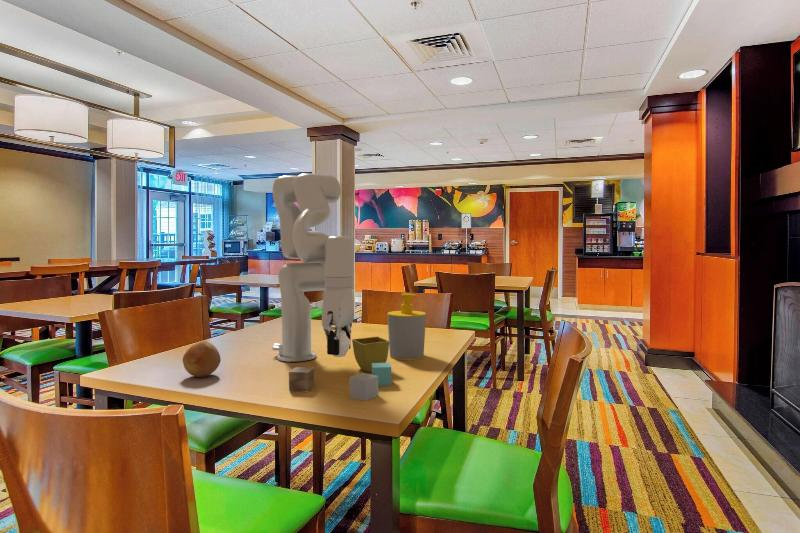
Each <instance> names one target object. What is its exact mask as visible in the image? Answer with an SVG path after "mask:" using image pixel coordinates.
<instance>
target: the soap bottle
mask: <svg viewBox="0 0 800 533" xmlns="http://www.w3.org/2000/svg"><path fill="white" fill-rule="evenodd" d="M400 296H402V297H403V298H402V299H403V302H402V303H401V304H400V310H393V311H388V312H387V313H386V314H387V315H386V316H387V328H388V329H387V330H388V341H389V350H388V352H389V357H390V358H391V359H393V360H398V361H414V360H420V359H423V358H424V355H425V338H426V322H427V321H426V320H427V313H426V312H425V311H420V310H413V304H412V303H411V297H414V298H415V297H416V298H417V297H418V295H417V294H415V293H414V294H413V293H408V292H407V293H401V294H400Z"/></svg>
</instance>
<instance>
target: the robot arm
mask: <svg viewBox="0 0 800 533" xmlns="http://www.w3.org/2000/svg"><path fill="white" fill-rule="evenodd" d="M272 184H273V185H272V198H273V203H274V205H275V208H276V211H277V213H278V218H279V228H280V229H279V230H280V246H281V252H282V253H281V254H282V255H283V257H284V258H287V259H289V260H290V259H291V260H300V261H301V262H290V263H286V264H283V265H282V266H280V268H279V269H278V276H277V277H278V285H279V290H280V300H281V301H280V302H281V343H274V344H273V347H272V351H278V354H277V355H276V357H277V360H278V361H282V362H287V363H288V362H289V363H292V362H293V363H295V362H304V361H305V362H306V361H310V360H313V359H315V358H316V357H317V353H316V352H315V351H312V306H311V303H310V302H311V301H309V298H308V297H306V295H305V294H304V292H315V291H316V292H318V291H319V292H320V291H324V293H323V297H322V305H321V306H322V307H321V309H322V310H321V326H322V330H323V331H324V334H325V338H326V343H327V344H326V354H327V355H329V356H330V355H331V356H333V355H339V339H338V334H339V329H340V330H343V331H345V332H346V335H347V337H348V338H349V339H350V341H351V342H352V338H351V335H352V326H353V324H352V323H354V322H353V321H354V295H353V289H354V287H355V286H354V283H355V281H354V279H355V277H354V270H355V267H354V265H355V264H354V263H355V260H354V254H355V252H354V250H355V249H354V245H355V244H354V239H353V238H352V237H351V236H347V235H346V236H345V235H327V234H326V233H325V232H324V231H319V230H308V229H311V228H314V227H316V226H318V225H320V224H323V223H324V222H325V221H326V220H327V219H329V217H330V214H331V207H330V205H329V204H333V203H336V202H337V201H339V199H340V197H341V190H342V189H341V184H340V181H339V180H338V178H336V177H335V176H334V175H331V174H321V173H319V174H318V173H308V172H307V173H301V174H298V175H282V176H278V177H276V178H275V179H274V182H273V183H272ZM296 203H297V204H296ZM334 331H335V334H334ZM351 344H352V343H351ZM351 344H350V347H349V349H348V350H351V348H352V347H351V346H352V345H351Z"/></svg>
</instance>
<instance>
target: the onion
mask: <svg viewBox="0 0 800 533" xmlns="http://www.w3.org/2000/svg"><path fill="white" fill-rule="evenodd" d="M221 360H222V359H221V356H220V352H219V350H218V348H217V347H216V346H215V345H214V344H213V343H211V342H210V341H209V342H208V341H206V340H200V341H197V342H195V343H193V344H192V345H191V346H190V347H189V348H188V349H187V350H186V351H185V353H184V354H183V356H182V364H183V367H184V369H185V371H186V372H187V373H188V374H189V375H190V376H193V377H197V378H201V379H202V378H206V377H208V376H210V375H211V374H213V373H214V372H216V371H217V369H218V367H219V366H220V364H221Z"/></svg>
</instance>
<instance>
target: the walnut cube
mask: <svg viewBox="0 0 800 533" xmlns="http://www.w3.org/2000/svg"><path fill="white" fill-rule="evenodd" d="M313 386H314V387H315V367H308V366H307V367H306V366H305V367H304V366H296V367H294V368H293V369H291V370H289V371H288V391H289V390H290V391H289V392H303V391H308V392H309V391H311V389H313V388H314V387H313ZM312 387H313V388H312Z"/></svg>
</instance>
